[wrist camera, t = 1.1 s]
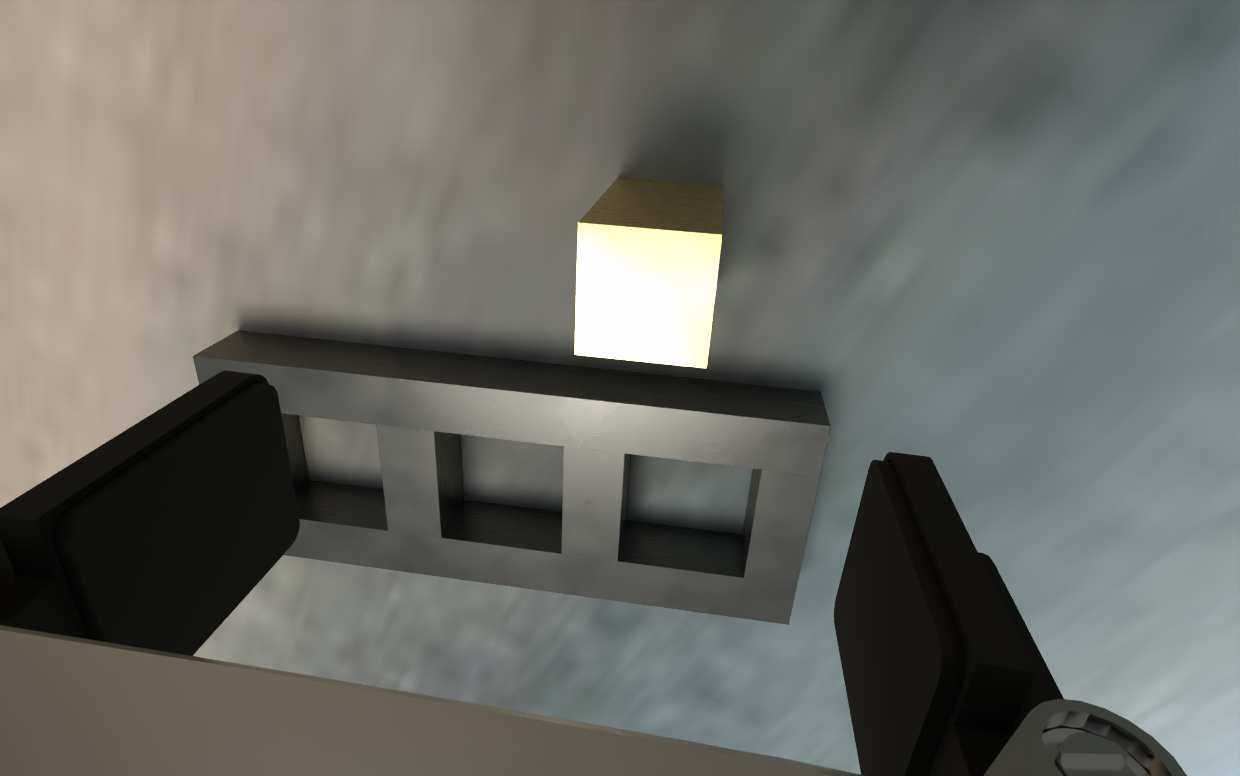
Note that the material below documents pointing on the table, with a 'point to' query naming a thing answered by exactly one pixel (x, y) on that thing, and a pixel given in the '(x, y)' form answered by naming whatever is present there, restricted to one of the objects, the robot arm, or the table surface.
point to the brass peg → (649, 272)
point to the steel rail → (592, 471)
